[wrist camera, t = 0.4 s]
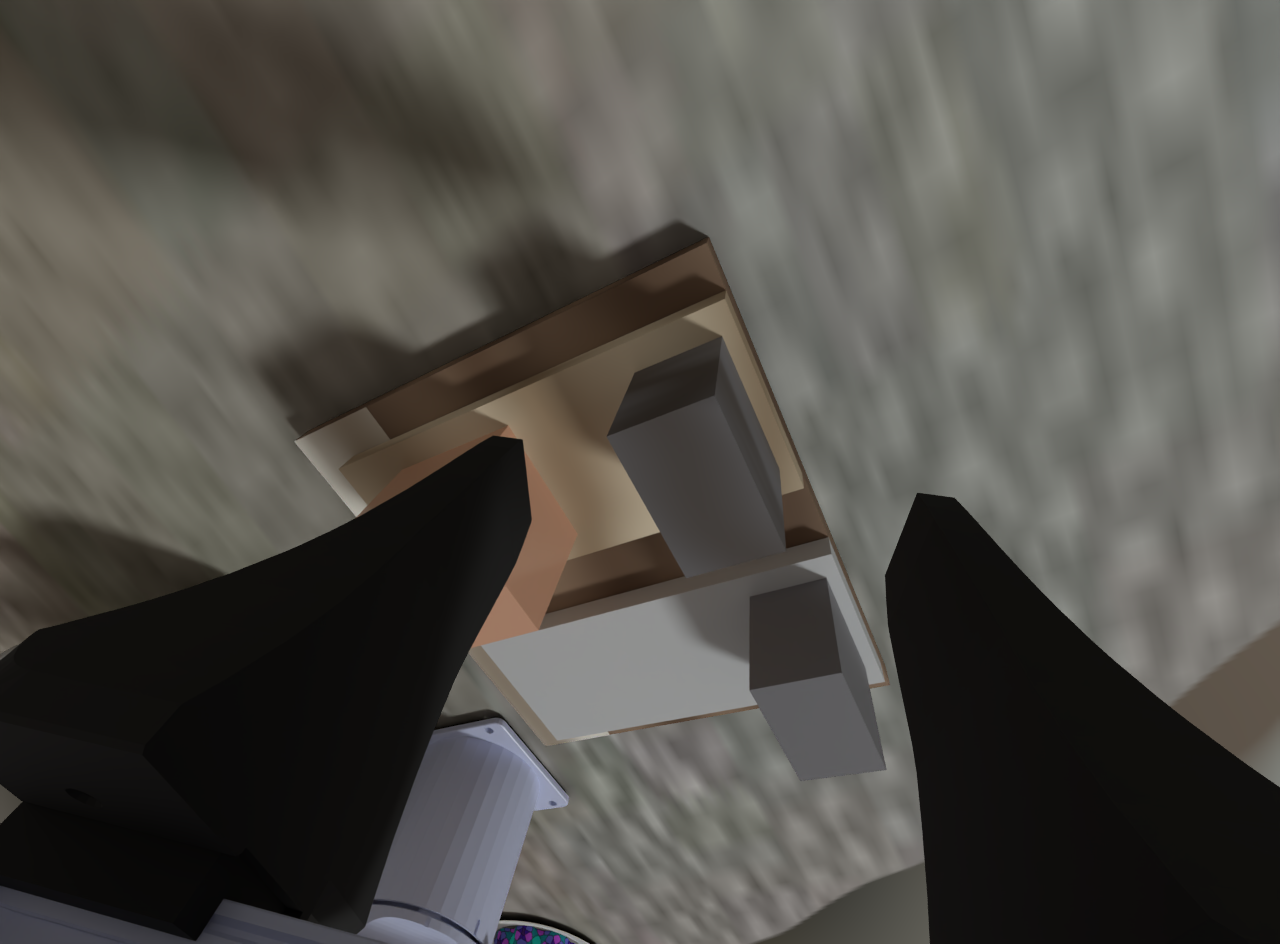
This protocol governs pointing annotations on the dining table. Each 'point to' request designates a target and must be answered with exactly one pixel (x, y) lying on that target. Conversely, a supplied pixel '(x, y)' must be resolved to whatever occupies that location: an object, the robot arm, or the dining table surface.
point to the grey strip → (715, 659)
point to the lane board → (528, 355)
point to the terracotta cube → (538, 557)
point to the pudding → (531, 934)
